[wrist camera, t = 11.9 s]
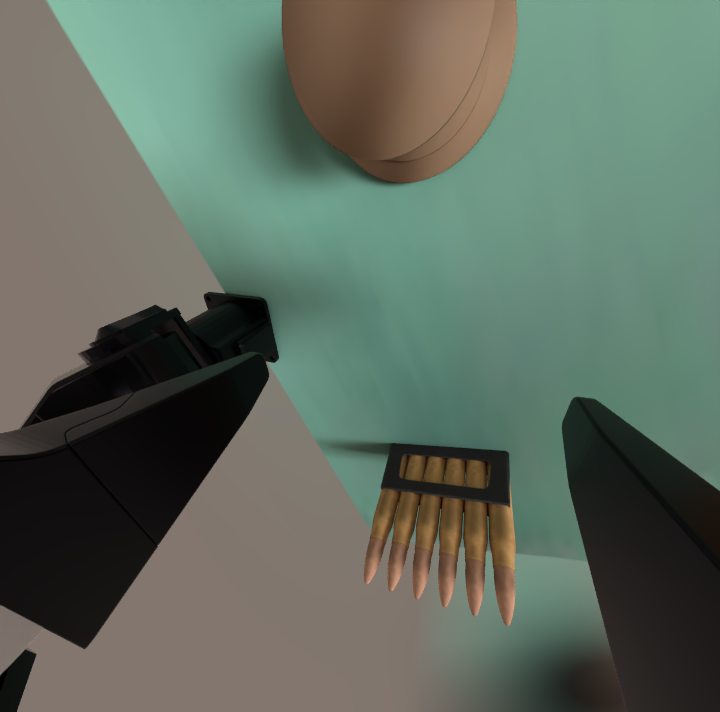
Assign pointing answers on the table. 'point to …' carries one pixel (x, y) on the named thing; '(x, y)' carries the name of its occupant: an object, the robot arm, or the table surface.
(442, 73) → the brown door knob
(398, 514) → the ammunition clip
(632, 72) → the table surface
